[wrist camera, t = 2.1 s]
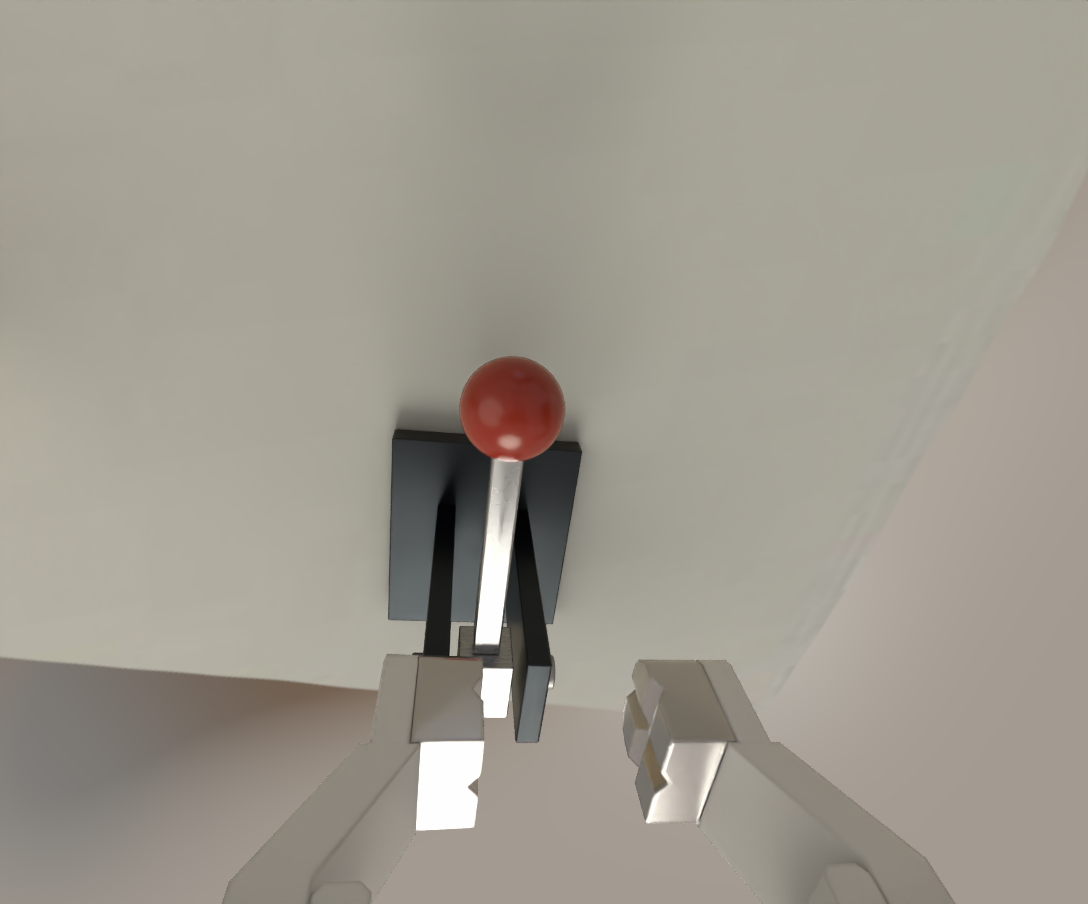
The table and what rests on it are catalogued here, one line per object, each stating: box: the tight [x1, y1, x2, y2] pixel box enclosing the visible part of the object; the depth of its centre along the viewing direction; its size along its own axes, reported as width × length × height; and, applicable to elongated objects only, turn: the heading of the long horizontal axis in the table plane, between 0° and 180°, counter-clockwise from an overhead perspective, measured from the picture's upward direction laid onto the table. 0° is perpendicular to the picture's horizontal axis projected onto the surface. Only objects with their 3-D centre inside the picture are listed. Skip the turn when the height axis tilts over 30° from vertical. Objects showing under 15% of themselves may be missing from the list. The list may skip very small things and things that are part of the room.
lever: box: [457, 356, 565, 718], centre depth 23 cm, size 15×4×4 cm, turn 173°
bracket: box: [388, 430, 582, 743], centre depth 30 cm, size 12×10×13 cm
